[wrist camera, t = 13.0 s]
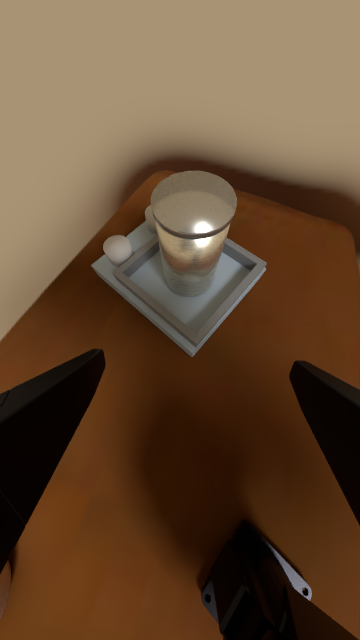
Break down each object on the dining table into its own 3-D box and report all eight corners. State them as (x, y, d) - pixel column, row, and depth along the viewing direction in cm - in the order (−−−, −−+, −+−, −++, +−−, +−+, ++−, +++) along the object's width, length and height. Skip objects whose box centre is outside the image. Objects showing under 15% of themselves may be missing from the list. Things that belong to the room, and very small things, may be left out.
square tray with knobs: (258, 279, 25) (273, 258, 21) (192, 357, 22) (194, 350, 18) (167, 219, 29) (164, 190, 25) (99, 276, 26) (82, 254, 22)
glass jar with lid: (215, 299, 21) (238, 234, 12) (161, 296, 21) (145, 231, 12) (214, 240, 24) (234, 153, 15) (167, 238, 24) (158, 151, 15)
